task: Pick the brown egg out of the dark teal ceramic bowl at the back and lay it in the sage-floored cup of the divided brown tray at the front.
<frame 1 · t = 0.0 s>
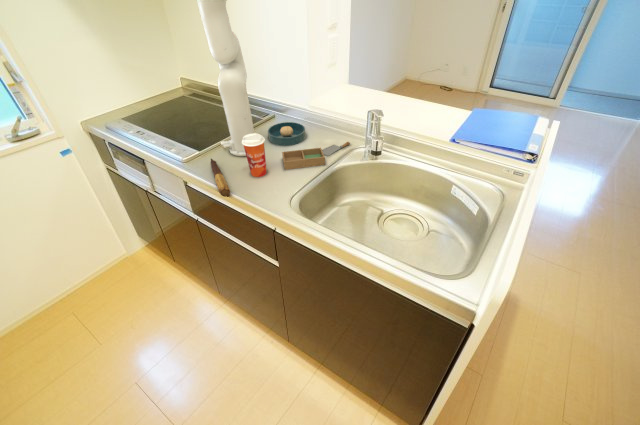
cleaver: (334, 148, 128), on the counter
hand tool: (230, 182, 102), point 5 cm above the counter
bowl: (287, 137, 137), on the counter
egg: (287, 135, 137), point 1 cm above the counter, touching bowl
paper cup: (259, 173, 115), on the counter
divided brown tray: (303, 162, 120), on the counter
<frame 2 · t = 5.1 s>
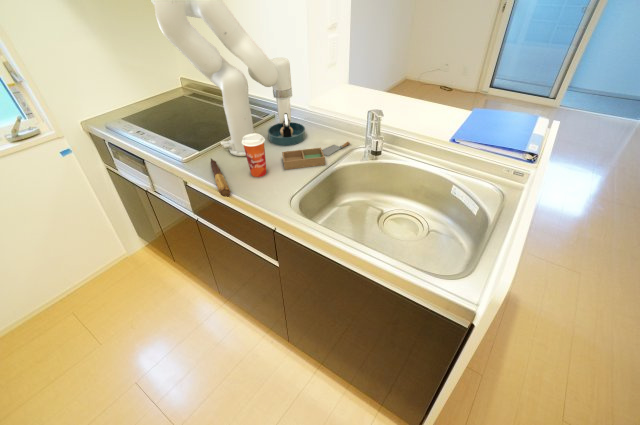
hand: (286, 134, 136), 1 cm above the counter, tool pointing down, fingers closed on egg, 4 cm apart
egg: (287, 135, 137), point 1 cm above the counter, touching bowl, gripper
everything else where it was.
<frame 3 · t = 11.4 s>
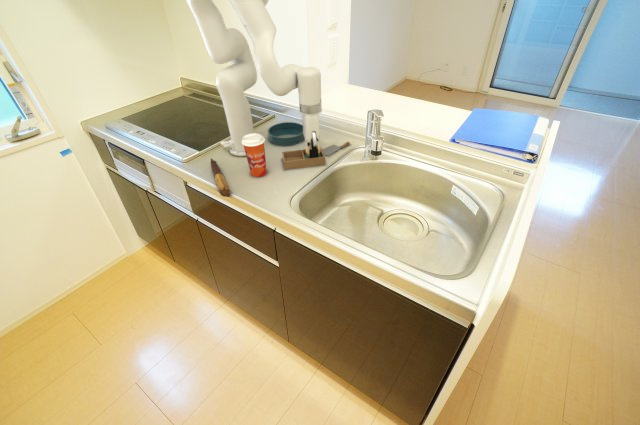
hand: (313, 154, 119), 3 cm above the counter, tool pointing down, fingers closed on egg, 4 cm apart
egg: (313, 155, 119), point 2 cm above the counter, touching gripper
everything else where it was.
when the fingers open (3 cm above the counter, at t = 15.3 s): egg stays where it is, resting on divided brown tray.
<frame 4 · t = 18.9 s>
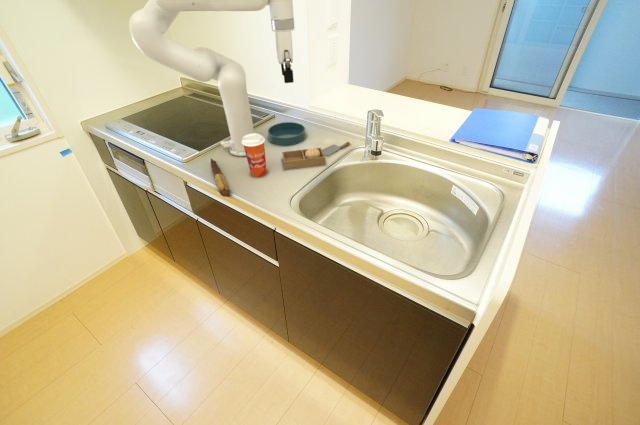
hand: (287, 78, 115), 26 cm above the counter, tool pointing down, fingers open, 9 cm apart
egg: (312, 158, 120), point 1 cm above the counter, tilted 10°, touching divided brown tray
everything else where it was.
at the end: egg 0.1 cm from the target spot in the divided brown tray, point 1.0 cm above the divided brown tray's base; the gripper is holding nothing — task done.
